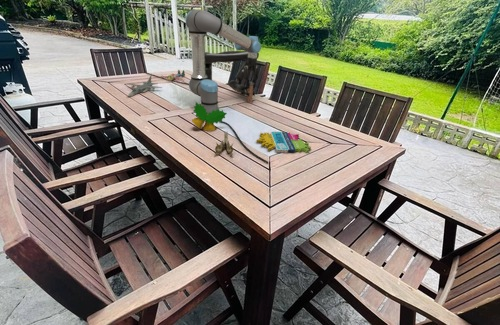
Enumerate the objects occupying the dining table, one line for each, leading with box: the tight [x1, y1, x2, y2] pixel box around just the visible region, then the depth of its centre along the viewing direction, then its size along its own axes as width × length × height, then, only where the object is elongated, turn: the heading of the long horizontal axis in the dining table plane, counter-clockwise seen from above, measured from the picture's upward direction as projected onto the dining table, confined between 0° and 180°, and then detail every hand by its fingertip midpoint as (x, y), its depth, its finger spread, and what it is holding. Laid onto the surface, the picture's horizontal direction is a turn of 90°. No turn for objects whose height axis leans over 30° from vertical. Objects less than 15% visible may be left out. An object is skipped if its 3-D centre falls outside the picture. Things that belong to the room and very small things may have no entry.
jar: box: [246, 85, 254, 104], centre depth 218 cm, size 5×5×16 cm
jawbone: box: [214, 131, 234, 156], centre depth 136 cm, size 9×15×10 cm
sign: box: [256, 131, 312, 154], centre depth 152 cm, size 26×2×30 cm
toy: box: [160, 69, 186, 82], centre depth 279 cm, size 28×7×30 cm
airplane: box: [126, 75, 163, 98], centre depth 227 cm, size 38×31×10 cm
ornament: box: [191, 102, 228, 132], centre depth 162 cm, size 21×8×15 cm, turn 105°
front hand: (250, 87), depth 216 cm, fingers closed on lid, 5 cm apart
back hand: (251, 94), depth 217 cm, fingers closed on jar, 4 cm apart
